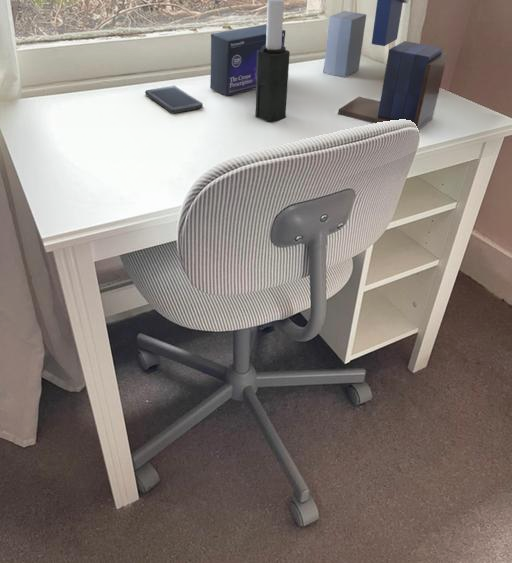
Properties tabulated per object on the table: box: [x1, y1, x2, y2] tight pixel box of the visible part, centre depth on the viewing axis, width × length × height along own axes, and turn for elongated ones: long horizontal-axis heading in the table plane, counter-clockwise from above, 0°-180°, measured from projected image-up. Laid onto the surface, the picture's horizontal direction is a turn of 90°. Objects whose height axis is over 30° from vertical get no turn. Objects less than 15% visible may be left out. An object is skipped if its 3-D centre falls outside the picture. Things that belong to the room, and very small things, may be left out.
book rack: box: [337, 40, 449, 131], centre depth 107 cm, size 17×10×14 cm, turn 56°
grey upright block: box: [323, 10, 367, 78], centre depth 132 cm, size 6×8×13 cm
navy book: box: [371, 0, 404, 47], centre depth 112 cm, size 3×7×12 cm, turn 147°
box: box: [209, 23, 286, 97], centre depth 121 cm, size 17×7×12 cm, turn 132°
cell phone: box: [144, 85, 204, 114], centre depth 115 cm, size 7×14×1 cm, turn 34°
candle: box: [254, 0, 291, 123], centre depth 102 cm, size 5×5×25 cm
